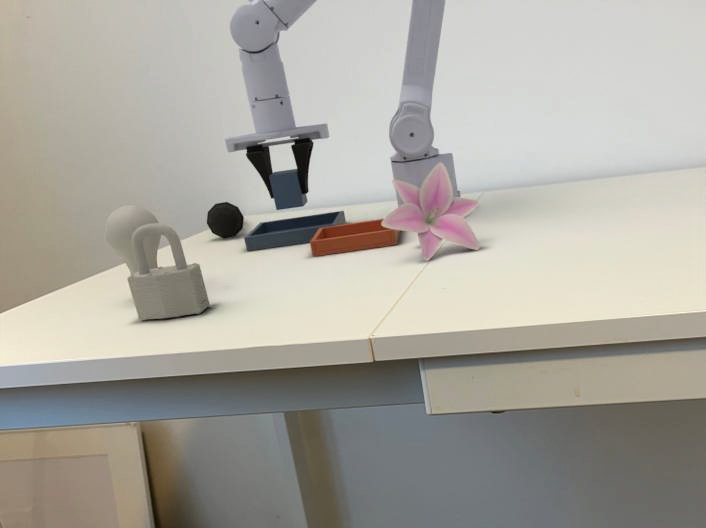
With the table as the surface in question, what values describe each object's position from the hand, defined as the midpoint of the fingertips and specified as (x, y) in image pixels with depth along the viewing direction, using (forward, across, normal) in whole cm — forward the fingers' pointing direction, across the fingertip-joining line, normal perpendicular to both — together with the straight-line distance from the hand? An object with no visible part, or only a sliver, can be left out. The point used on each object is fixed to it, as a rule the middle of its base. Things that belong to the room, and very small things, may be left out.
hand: (289, 195), depth 118 cm
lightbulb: (+6, -14, -25) cm, 29 cm away
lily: (+6, +21, -23) cm, 32 cm away
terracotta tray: (+6, +10, -11) cm, 16 cm away
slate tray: (+6, 0, 0) cm, 6 cm away
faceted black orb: (+6, -13, +15) cm, 21 cm away
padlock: (+6, -8, -35) cm, 36 cm away
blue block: (+2, 0, 0) cm, 2 cm away
